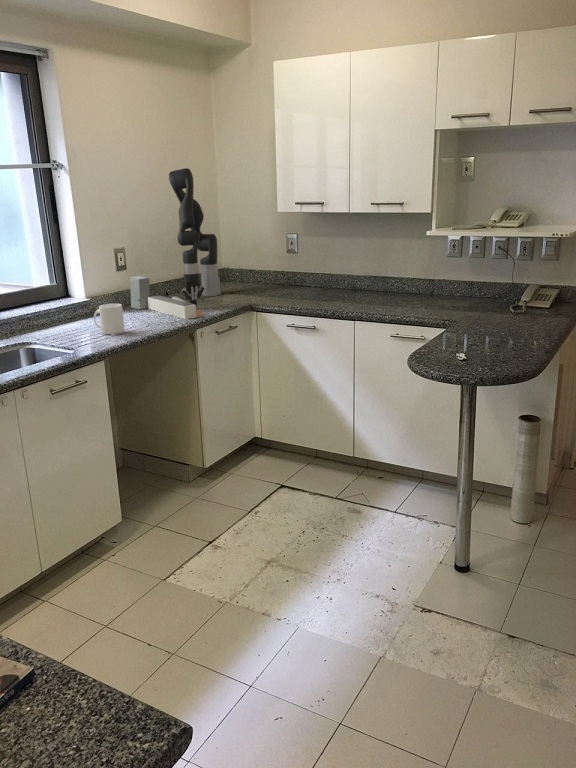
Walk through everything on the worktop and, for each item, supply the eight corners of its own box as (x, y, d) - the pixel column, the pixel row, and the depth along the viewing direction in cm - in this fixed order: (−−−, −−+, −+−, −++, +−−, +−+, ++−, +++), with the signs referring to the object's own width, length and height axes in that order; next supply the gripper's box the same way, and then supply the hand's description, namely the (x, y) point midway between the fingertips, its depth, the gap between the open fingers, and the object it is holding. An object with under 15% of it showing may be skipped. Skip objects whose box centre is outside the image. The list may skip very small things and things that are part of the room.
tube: (198, 305, 314) (181, 297, 336) (188, 303, 312) (171, 295, 333) (195, 316, 315) (178, 307, 336) (185, 313, 313) (169, 305, 334)
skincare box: (131, 308, 332) (127, 277, 327) (142, 306, 337) (139, 275, 332) (140, 310, 326) (137, 278, 322) (152, 307, 331) (149, 276, 326)
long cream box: (164, 306, 333) (163, 294, 331) (201, 316, 307) (201, 303, 305) (148, 309, 328) (147, 296, 326) (185, 319, 301) (184, 305, 300)
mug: (125, 333, 277) (122, 306, 273) (96, 336, 274) (92, 309, 270) (123, 329, 286) (121, 302, 282) (95, 331, 282) (92, 305, 279)
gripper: (198, 270, 325) (201, 304, 330) (175, 273, 317) (178, 308, 323) (206, 271, 320) (209, 306, 325) (183, 274, 312) (186, 310, 317)
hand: (193, 307), depth 324 cm, fingers closed
